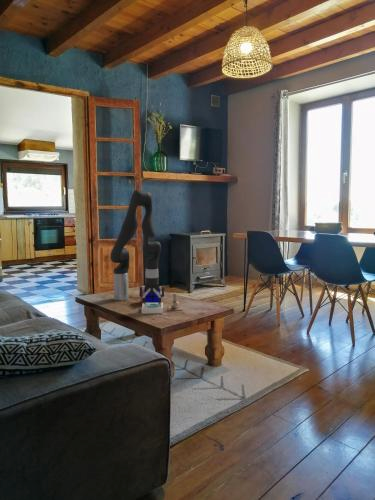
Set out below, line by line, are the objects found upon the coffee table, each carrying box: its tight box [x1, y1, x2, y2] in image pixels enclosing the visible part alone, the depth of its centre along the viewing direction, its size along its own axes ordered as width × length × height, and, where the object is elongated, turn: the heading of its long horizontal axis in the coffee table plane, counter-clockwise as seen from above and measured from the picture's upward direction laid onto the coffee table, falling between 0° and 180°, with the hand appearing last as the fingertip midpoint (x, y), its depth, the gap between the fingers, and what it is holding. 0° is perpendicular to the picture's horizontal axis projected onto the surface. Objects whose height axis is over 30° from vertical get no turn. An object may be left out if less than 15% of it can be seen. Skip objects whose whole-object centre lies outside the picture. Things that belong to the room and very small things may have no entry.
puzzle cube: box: [140, 288, 161, 304], centre depth 244 cm, size 10×10×10 cm
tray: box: [141, 302, 164, 315], centre depth 225 cm, size 12×12×3 cm
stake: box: [167, 292, 183, 312], centre depth 229 cm, size 8×8×9 cm
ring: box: [147, 303, 158, 308], centre depth 225 cm, size 7×6×3 cm
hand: (151, 303), depth 225 cm, fingers open, 8 cm apart
